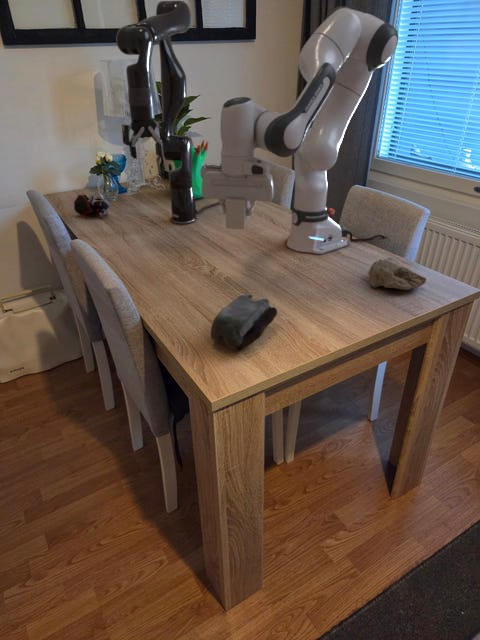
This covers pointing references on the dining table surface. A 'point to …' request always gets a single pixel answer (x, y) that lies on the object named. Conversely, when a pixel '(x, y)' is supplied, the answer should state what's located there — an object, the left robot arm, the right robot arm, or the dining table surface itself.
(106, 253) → the dining table surface
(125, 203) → the dining table surface
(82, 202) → the toy
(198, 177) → the toy
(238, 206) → the bar
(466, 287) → the dining table surface
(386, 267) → the artifact
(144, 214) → the dining table surface
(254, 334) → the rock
